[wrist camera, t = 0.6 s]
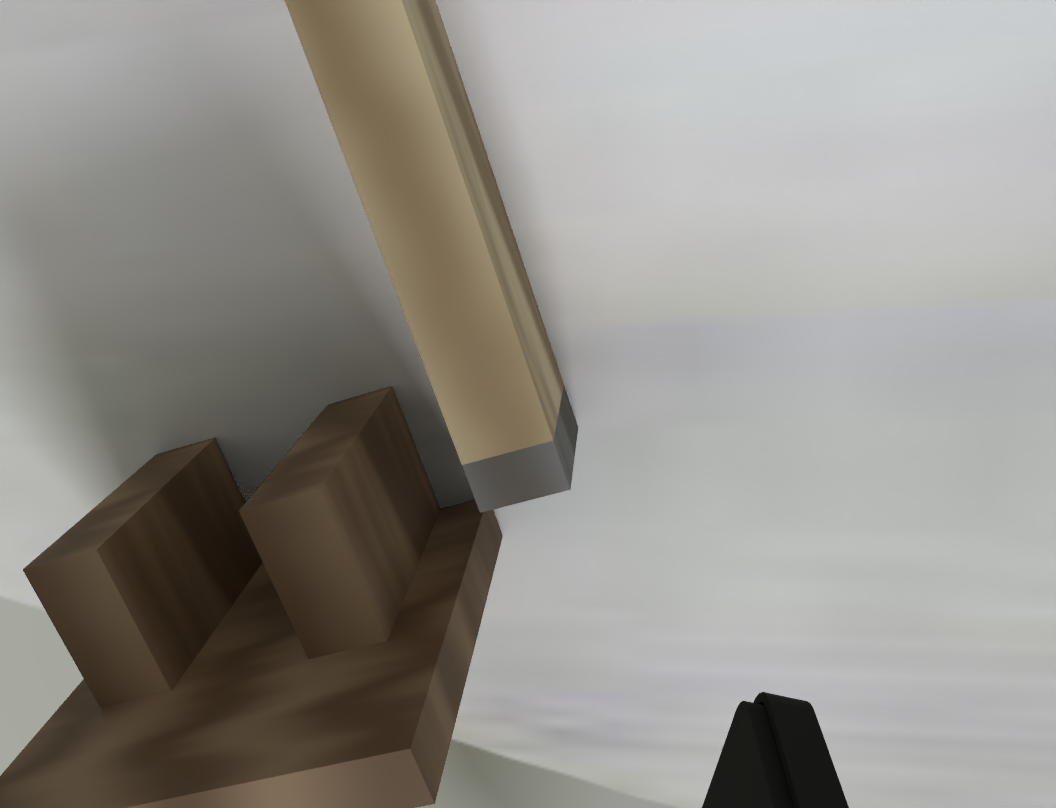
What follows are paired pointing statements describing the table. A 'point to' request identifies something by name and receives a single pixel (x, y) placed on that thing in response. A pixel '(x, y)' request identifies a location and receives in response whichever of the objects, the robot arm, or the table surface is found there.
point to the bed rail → (444, 239)
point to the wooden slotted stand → (263, 629)
